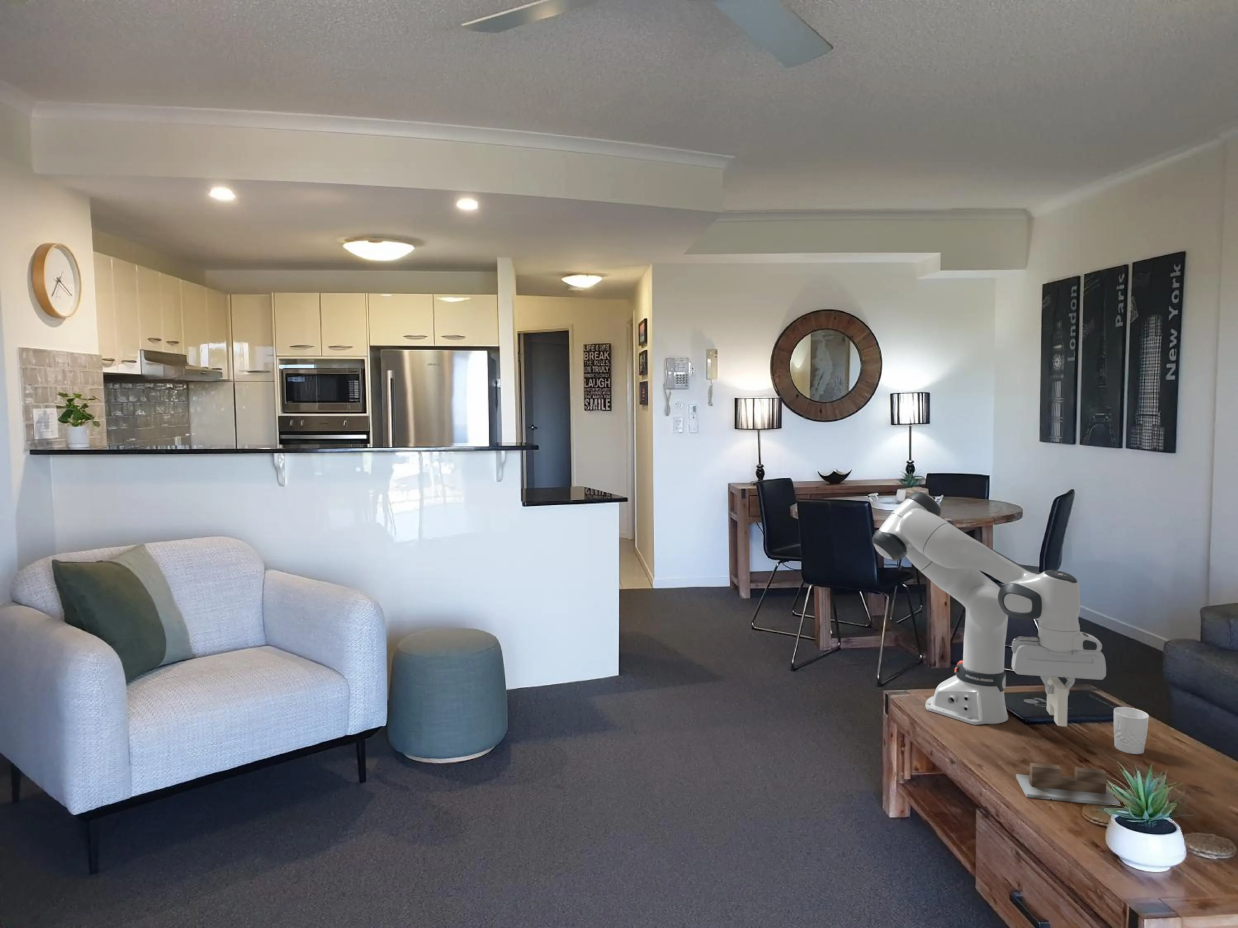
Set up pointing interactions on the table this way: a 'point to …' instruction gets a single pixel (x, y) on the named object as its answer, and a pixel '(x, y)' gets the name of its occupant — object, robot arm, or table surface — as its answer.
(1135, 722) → the white cup
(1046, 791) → the base plate
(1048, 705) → the upright cream slab
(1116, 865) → the table surface
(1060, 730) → the table surface
